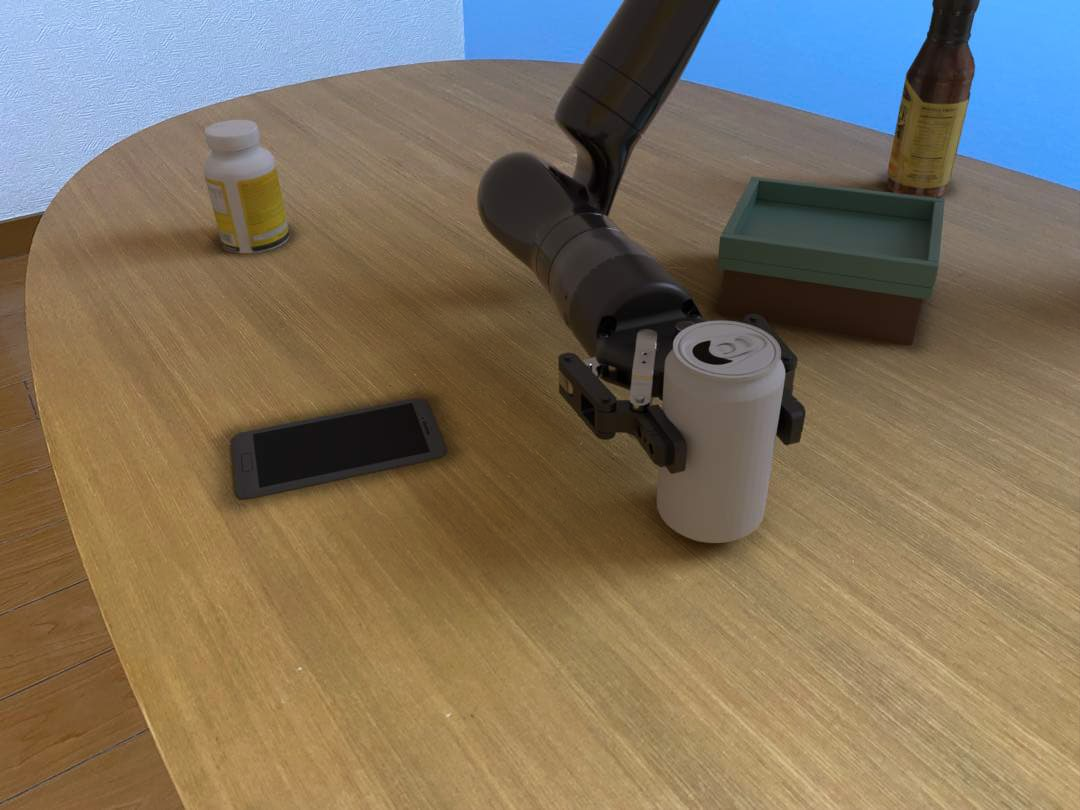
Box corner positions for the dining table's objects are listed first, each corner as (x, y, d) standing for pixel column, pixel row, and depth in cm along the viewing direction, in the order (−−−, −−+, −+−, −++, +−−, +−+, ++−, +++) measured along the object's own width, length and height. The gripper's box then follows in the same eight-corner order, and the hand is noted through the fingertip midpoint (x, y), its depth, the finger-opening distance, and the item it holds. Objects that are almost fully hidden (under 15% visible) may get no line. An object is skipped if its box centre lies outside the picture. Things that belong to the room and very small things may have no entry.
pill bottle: (303, 236, 93) (282, 120, 86) (264, 264, 88) (238, 143, 81) (249, 227, 95) (224, 113, 88) (208, 254, 90) (178, 135, 83)
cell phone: (231, 442, 65) (229, 433, 65) (427, 403, 69) (426, 395, 68) (237, 509, 60) (235, 500, 59) (451, 463, 63) (450, 454, 62)
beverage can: (637, 497, 58) (643, 331, 51) (726, 468, 60) (744, 304, 53) (690, 565, 53) (705, 392, 46) (785, 531, 55) (814, 361, 48)
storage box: (925, 282, 82) (945, 198, 78) (916, 357, 72) (938, 266, 68) (742, 256, 87) (751, 175, 83) (711, 323, 77) (719, 236, 73)
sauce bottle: (895, 175, 102) (935, -22, 90) (954, 188, 99) (1004, -15, 87) (874, 196, 98) (913, -8, 86) (935, 209, 95) (984, -1, 83)
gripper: (515, 272, 59) (617, 418, 47) (719, 234, 63) (866, 360, 50) (520, 370, 64) (615, 529, 51) (710, 330, 67) (844, 468, 54)
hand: (739, 445), depth 51 cm, fingers closed on beverage can, 6 cm apart
